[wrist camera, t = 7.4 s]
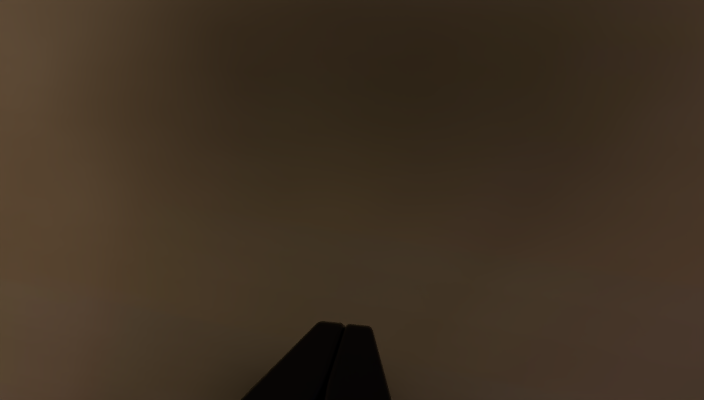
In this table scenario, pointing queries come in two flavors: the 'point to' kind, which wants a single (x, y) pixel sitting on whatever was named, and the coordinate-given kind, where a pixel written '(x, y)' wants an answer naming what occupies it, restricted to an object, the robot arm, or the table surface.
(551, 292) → the table surface
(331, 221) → the table surface
